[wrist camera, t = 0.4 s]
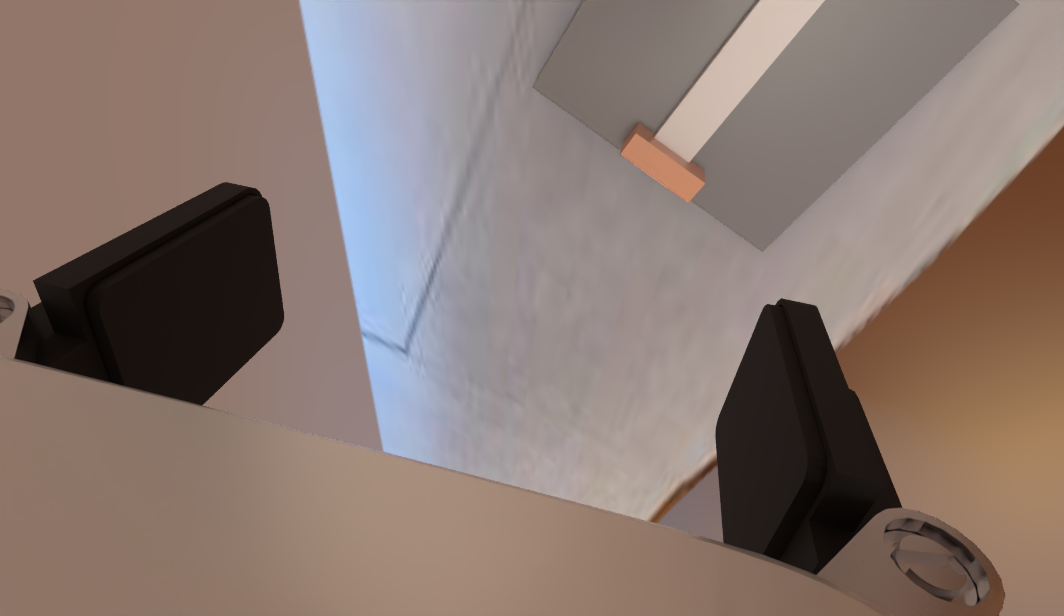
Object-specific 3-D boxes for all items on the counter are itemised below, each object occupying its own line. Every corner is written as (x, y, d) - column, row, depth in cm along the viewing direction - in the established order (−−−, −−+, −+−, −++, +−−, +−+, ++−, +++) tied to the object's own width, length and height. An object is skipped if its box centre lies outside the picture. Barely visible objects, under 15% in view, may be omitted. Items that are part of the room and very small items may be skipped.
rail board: (727, -236, 27) (732, -258, 24) (1008, 1, 29) (1044, 8, 26) (536, 83, 36) (523, 96, 33) (760, 243, 39) (766, 269, 36)
